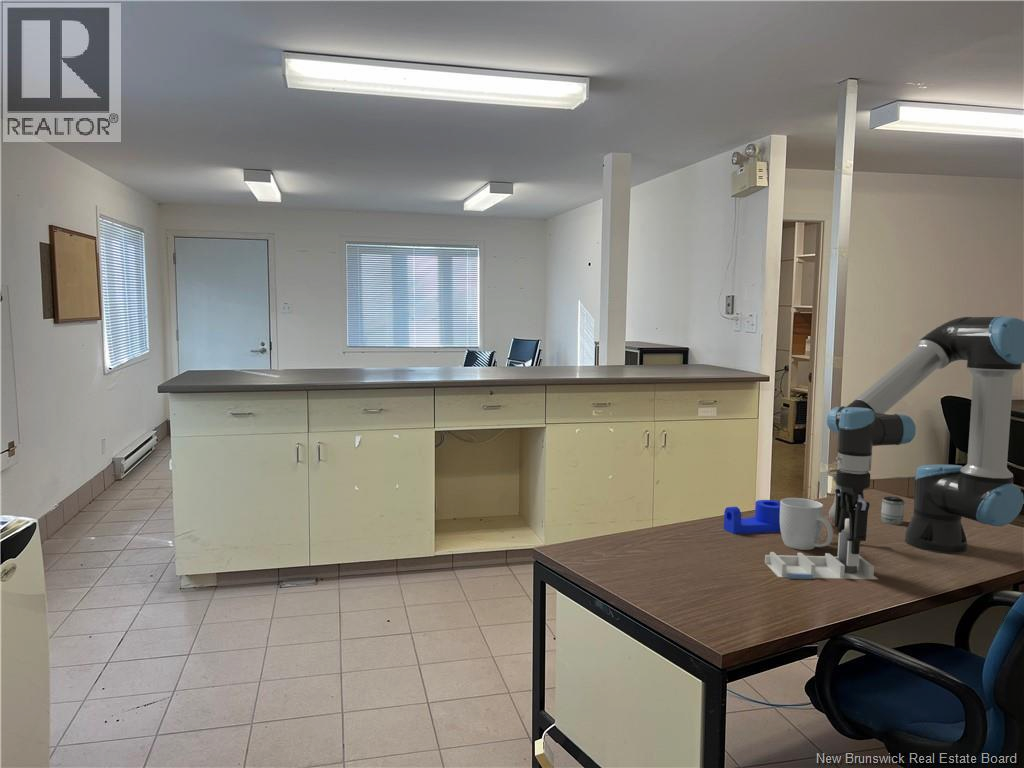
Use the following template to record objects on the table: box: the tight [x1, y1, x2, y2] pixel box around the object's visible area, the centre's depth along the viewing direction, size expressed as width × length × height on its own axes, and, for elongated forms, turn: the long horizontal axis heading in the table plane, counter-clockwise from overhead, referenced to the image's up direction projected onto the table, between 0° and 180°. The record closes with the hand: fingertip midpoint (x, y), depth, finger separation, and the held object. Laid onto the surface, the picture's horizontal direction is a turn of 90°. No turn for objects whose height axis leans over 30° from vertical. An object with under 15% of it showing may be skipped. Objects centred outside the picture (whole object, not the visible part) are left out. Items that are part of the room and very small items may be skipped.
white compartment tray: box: [764, 551, 879, 580], centre depth 172 cm, size 24×11×4 cm, turn 88°
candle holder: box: [820, 469, 841, 546], centre depth 198 cm, size 9×9×20 cm
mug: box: [779, 497, 833, 551], centre depth 191 cm, size 15×11×13 cm
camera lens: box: [880, 496, 906, 526], centre depth 219 cm, size 6×6×8 cm
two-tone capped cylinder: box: [840, 518, 857, 574], centre depth 172 cm, size 4×4×13 cm
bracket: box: [723, 499, 781, 535], centre depth 211 cm, size 20×9×8 cm, turn 108°
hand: (847, 561), depth 173 cm, fingers open, 4 cm apart
